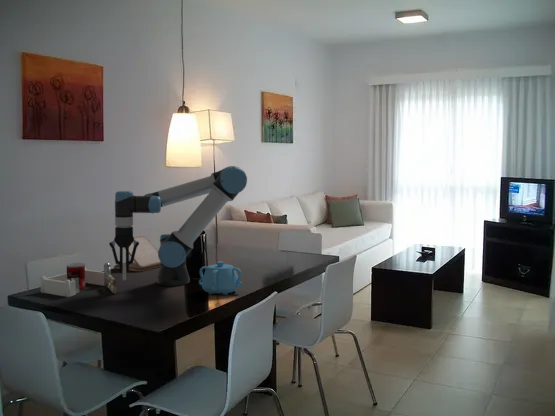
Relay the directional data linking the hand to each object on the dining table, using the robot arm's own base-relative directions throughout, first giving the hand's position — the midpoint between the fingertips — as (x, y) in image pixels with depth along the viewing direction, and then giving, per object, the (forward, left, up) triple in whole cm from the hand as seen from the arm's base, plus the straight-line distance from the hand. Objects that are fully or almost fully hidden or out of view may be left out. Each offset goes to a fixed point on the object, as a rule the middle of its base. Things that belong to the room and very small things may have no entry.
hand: (124, 279), depth 244 cm
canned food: (+21, +8, -5) cm, 23 cm away
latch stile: (+16, +13, -5) cm, 21 cm away
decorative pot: (-39, -18, -5) cm, 43 cm away
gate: (+5, +3, -5) cm, 7 cm away
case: (+32, -44, -6) cm, 55 cm away
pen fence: (+21, +8, -5) cm, 23 cm away
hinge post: (+13, -3, -5) cm, 15 cm away
